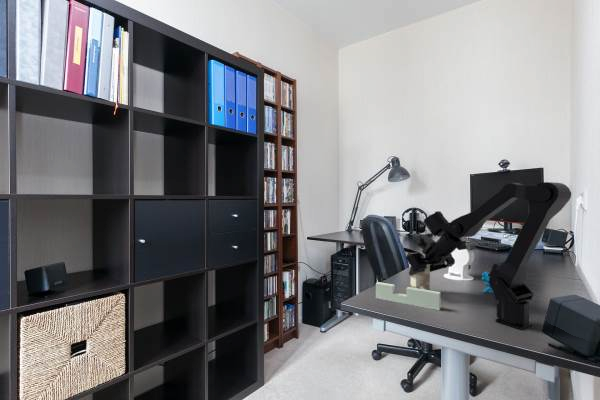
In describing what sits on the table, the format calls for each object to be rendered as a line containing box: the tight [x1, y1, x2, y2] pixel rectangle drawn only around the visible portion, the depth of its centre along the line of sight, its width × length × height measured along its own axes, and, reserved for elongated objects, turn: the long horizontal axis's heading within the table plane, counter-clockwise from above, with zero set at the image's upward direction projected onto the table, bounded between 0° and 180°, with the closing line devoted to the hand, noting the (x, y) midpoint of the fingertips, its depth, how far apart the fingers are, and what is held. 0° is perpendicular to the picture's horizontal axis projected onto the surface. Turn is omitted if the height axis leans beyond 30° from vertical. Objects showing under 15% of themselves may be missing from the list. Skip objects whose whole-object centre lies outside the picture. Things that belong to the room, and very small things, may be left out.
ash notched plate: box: [410, 265, 431, 291], centre depth 112 cm, size 7×2×11 cm, turn 118°
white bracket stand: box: [443, 243, 477, 282], centre depth 133 cm, size 12×11×15 cm
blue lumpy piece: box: [481, 271, 494, 294], centre depth 110 cm, size 11×6×10 cm
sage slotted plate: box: [375, 281, 442, 311], centre depth 101 cm, size 20×2×5 cm, turn 55°
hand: (417, 273), depth 113 cm, fingers closed on ash notched plate, 7 cm apart
